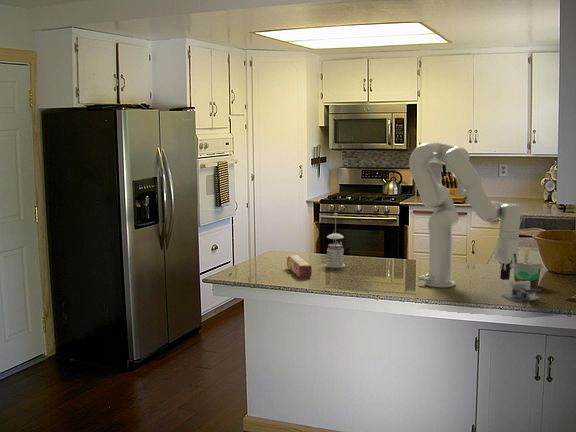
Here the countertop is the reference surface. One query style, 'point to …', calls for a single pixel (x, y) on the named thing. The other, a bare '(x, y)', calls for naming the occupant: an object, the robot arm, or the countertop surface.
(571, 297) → the countertop surface
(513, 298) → the gauge body
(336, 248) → the french press
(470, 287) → the countertop surface
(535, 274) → the food container
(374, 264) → the countertop surface
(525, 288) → the grey boxy piece
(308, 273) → the snack package
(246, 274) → the countertop surface
